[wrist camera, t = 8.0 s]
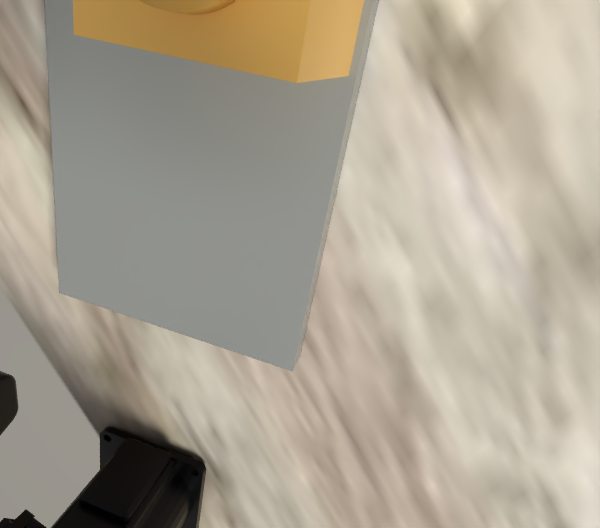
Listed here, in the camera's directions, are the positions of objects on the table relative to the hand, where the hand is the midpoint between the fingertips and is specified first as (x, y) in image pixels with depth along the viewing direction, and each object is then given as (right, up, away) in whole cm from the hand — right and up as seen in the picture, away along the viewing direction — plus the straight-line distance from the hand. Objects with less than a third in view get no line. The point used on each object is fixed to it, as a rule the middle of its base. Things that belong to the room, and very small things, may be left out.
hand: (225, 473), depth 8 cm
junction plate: (-3, +9, +11) cm, 14 cm away
